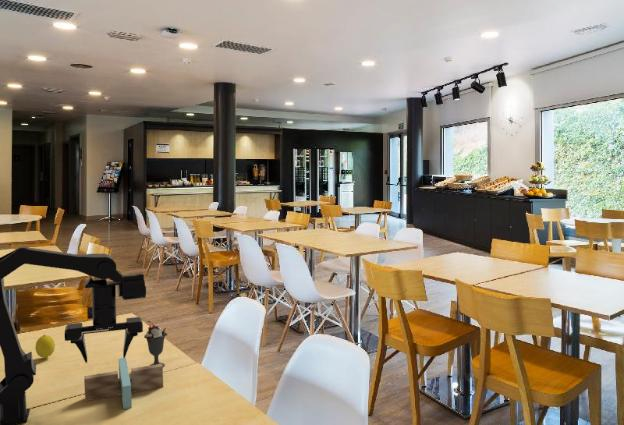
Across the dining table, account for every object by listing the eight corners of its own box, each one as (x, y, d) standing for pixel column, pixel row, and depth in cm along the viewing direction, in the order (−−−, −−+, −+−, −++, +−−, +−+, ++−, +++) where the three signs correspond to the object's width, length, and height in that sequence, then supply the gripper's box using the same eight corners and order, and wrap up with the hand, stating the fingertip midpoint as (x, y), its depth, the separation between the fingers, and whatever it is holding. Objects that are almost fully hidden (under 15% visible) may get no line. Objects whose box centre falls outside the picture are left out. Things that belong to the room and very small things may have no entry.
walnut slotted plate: (162, 383, 138) (161, 363, 137) (163, 386, 136) (162, 366, 136) (85, 397, 130) (84, 376, 129) (85, 400, 128) (84, 379, 127)
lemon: (47, 362, 153) (45, 338, 153) (32, 361, 154) (30, 336, 154) (59, 355, 159) (58, 332, 158) (44, 354, 160) (43, 331, 159)
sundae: (140, 368, 149) (138, 321, 147) (156, 360, 155) (155, 315, 153) (156, 372, 146) (154, 324, 144) (172, 364, 152) (170, 318, 150)
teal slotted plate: (131, 407, 124) (130, 385, 124) (123, 409, 124) (122, 386, 123) (126, 377, 142) (125, 357, 142) (119, 378, 142) (118, 358, 141)
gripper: (139, 292, 138) (140, 345, 139) (66, 298, 130) (68, 354, 132) (142, 301, 128) (143, 359, 129) (63, 308, 120) (65, 369, 121)
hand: (105, 359), depth 128 cm, fingers open, 9 cm apart
